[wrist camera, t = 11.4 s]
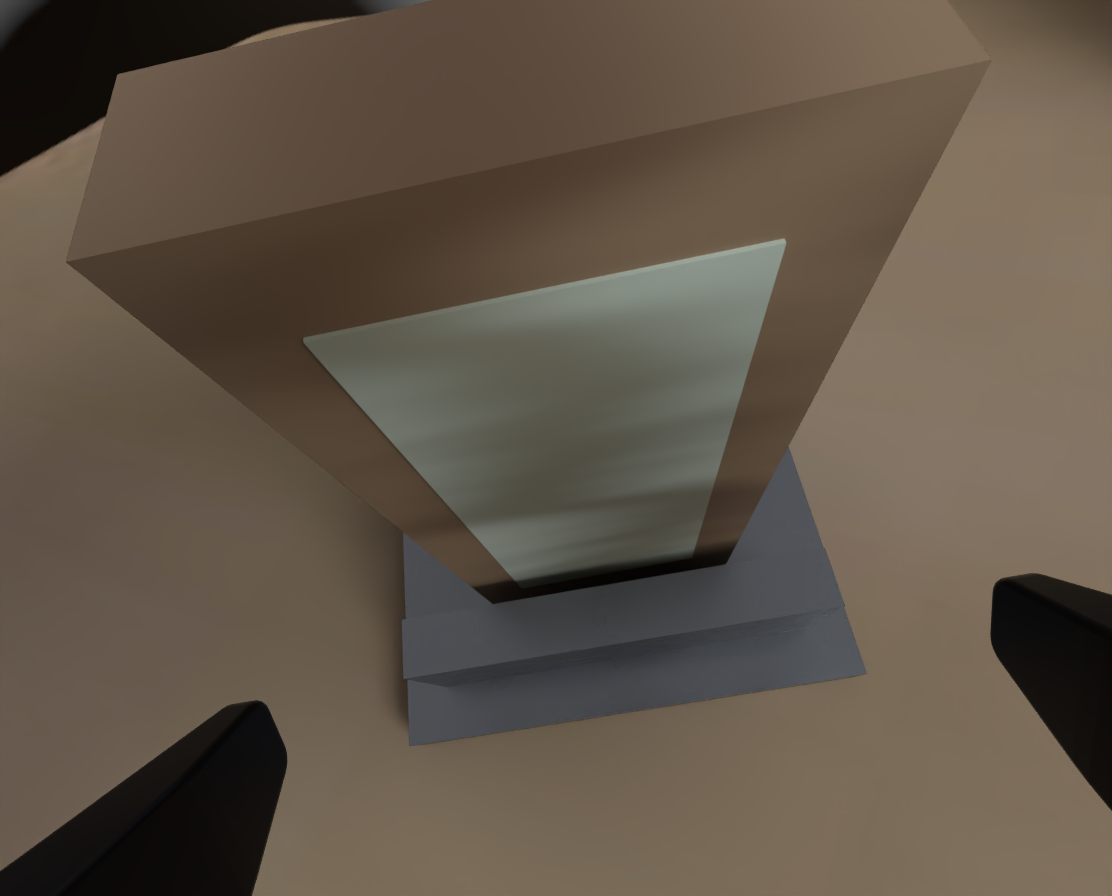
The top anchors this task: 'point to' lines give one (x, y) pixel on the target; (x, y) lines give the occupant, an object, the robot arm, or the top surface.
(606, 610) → the picture stand
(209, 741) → the robot arm
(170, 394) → the top surface
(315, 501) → the top surface
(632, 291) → the picture frame
